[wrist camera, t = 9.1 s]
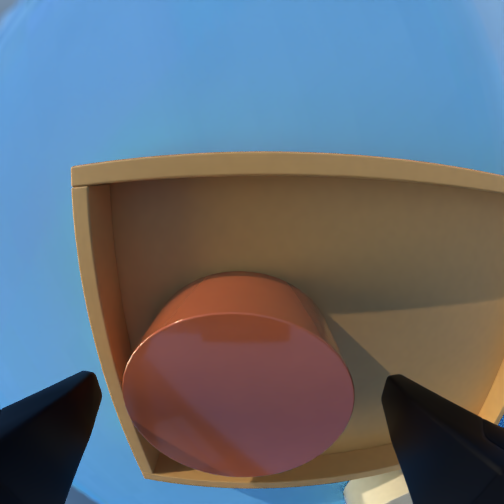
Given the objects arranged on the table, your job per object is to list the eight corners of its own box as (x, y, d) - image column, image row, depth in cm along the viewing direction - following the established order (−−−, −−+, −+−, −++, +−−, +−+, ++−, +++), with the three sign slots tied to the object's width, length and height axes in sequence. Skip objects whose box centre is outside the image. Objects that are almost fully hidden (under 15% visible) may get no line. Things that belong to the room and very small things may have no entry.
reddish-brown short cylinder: (321, 417, 11) (335, 472, 8) (166, 415, 11) (148, 468, 8) (340, 269, 9) (374, 308, 6) (140, 269, 9) (98, 307, 7)
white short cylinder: (417, 489, 14) (429, 518, 11) (334, 508, 14) (341, 542, 11) (451, 435, 13) (471, 468, 10) (355, 459, 13) (368, 502, 10)
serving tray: (475, 416, 12) (490, 437, 10) (154, 448, 12) (144, 478, 10) (535, 186, 9) (565, 192, 7) (102, 166, 9) (69, 166, 7)
